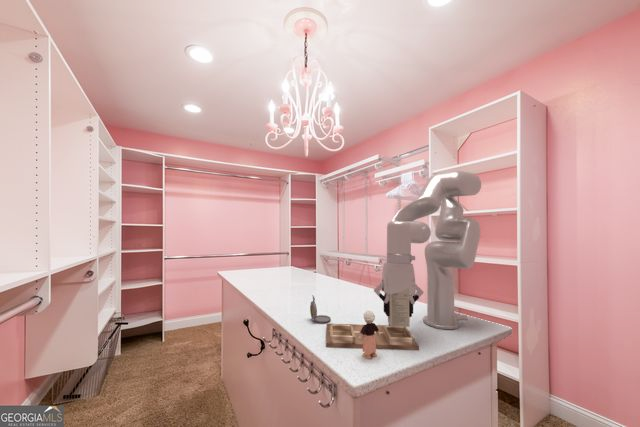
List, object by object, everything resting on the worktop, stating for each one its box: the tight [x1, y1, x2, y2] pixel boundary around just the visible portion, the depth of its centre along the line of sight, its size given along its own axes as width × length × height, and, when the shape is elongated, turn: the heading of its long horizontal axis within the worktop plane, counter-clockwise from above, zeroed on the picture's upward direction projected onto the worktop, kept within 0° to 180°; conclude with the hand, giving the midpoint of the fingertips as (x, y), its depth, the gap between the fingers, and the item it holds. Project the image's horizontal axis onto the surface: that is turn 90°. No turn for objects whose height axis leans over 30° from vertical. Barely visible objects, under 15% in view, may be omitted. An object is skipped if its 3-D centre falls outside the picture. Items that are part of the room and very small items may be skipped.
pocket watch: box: [309, 294, 332, 324], centre depth 102 cm, size 8×8×10 cm
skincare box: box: [387, 288, 411, 328], centre depth 85 cm, size 6×4×12 cm
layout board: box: [325, 323, 420, 351], centre depth 88 cm, size 28×16×6 cm, turn 88°
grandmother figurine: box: [359, 309, 380, 360], centre depth 75 cm, size 8×4×13 cm, turn 133°
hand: (398, 314), depth 85 cm, fingers closed on skincare box, 6 cm apart
